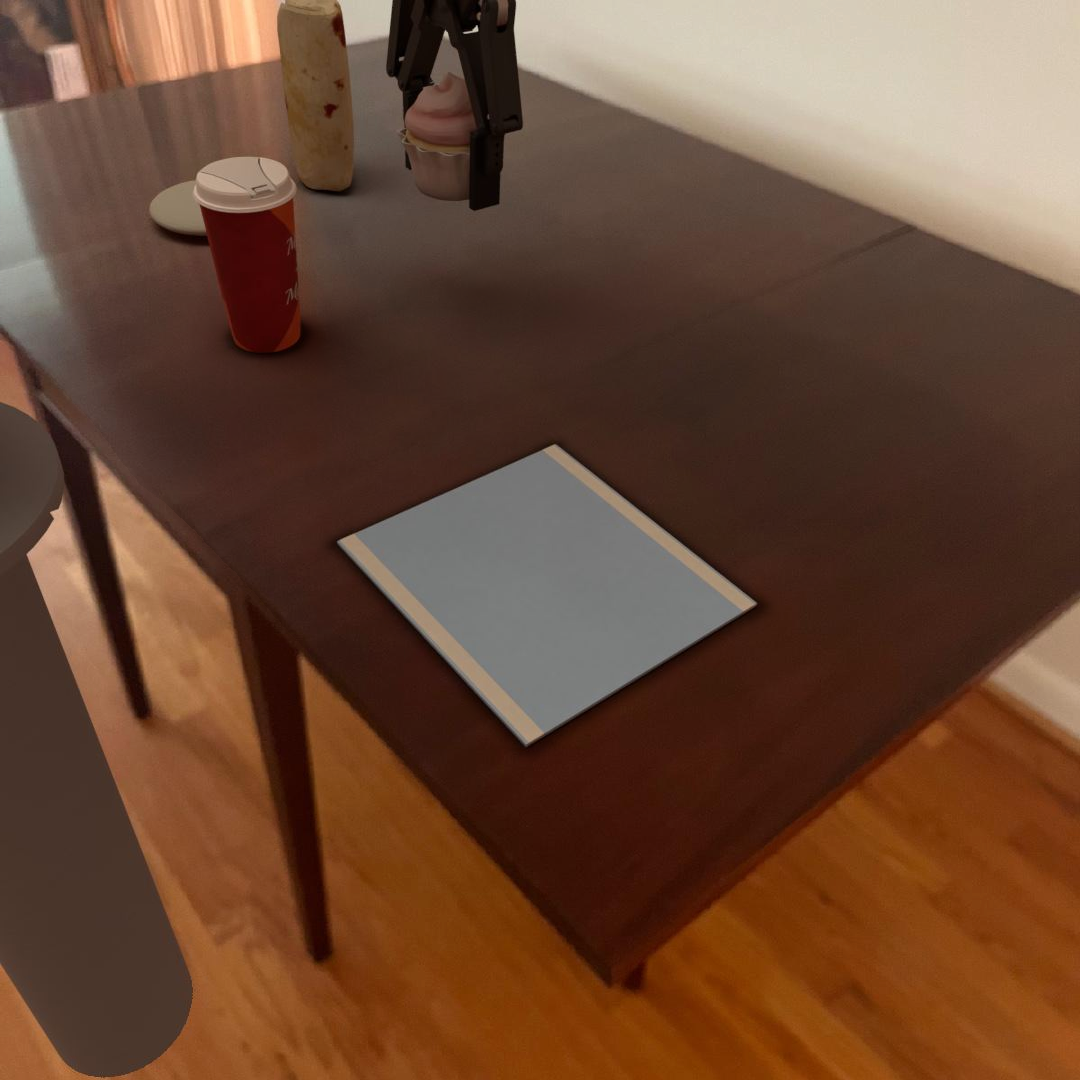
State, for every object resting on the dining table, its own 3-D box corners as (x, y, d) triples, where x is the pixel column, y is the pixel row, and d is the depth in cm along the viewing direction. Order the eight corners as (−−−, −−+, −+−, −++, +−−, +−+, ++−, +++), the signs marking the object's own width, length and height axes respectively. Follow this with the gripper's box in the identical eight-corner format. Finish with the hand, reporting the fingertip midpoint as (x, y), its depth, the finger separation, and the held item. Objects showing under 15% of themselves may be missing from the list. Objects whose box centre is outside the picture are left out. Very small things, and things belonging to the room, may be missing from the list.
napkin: (337, 544, 75) (336, 540, 74) (555, 446, 84) (555, 443, 84) (526, 747, 62) (526, 744, 62) (756, 606, 72) (757, 602, 72)
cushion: (136, 242, 107) (129, 214, 105) (172, 192, 116) (167, 165, 114) (253, 249, 107) (249, 221, 105) (281, 199, 116) (277, 172, 114)
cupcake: (380, 176, 95) (376, 60, 88) (472, 160, 98) (474, 48, 92) (426, 218, 89) (424, 97, 82) (522, 200, 93) (527, 83, 86)
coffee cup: (330, 341, 94) (313, 179, 84) (246, 370, 90) (218, 204, 80) (284, 302, 99) (263, 145, 89) (203, 328, 95) (171, 166, 85)
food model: (372, 191, 118) (359, -2, 105) (316, 203, 115) (296, 6, 102) (336, 160, 124) (319, -27, 110) (282, 170, 121) (259, -20, 108)
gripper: (584, -78, 74) (561, 222, 89) (413, -136, 87) (418, 136, 101) (498, -68, 71) (490, 243, 85) (333, -130, 83) (350, 151, 98)
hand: (451, 185), depth 93 cm, fingers closed on cupcake, 9 cm apart
